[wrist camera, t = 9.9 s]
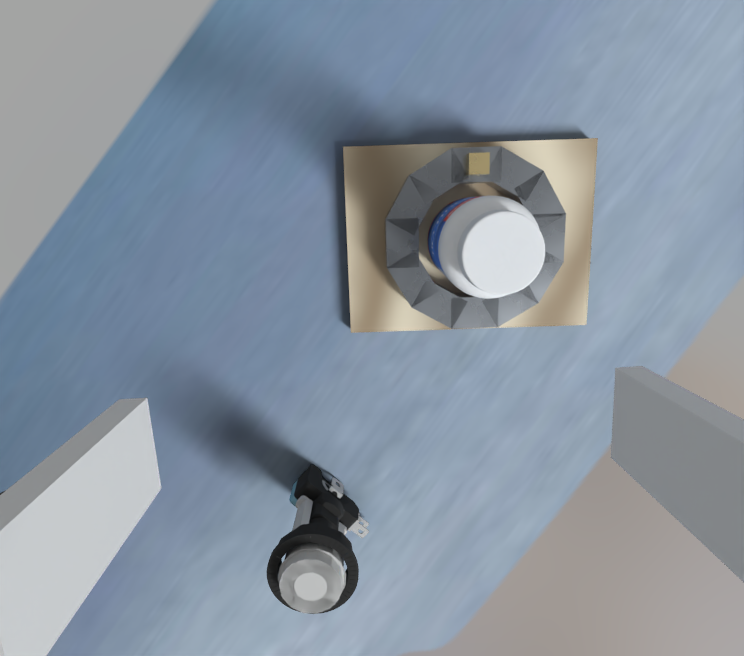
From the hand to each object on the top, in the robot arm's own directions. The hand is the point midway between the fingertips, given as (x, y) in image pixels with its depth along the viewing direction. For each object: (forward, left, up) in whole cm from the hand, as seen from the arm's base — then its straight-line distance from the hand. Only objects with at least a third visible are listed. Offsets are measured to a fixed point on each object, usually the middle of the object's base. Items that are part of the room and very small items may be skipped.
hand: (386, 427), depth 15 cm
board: (+6, +4, -22) cm, 23 cm away
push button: (-4, -15, -22) cm, 27 cm away
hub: (+6, +4, -22) cm, 23 cm away
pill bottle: (+6, +4, -21) cm, 22 cm away
